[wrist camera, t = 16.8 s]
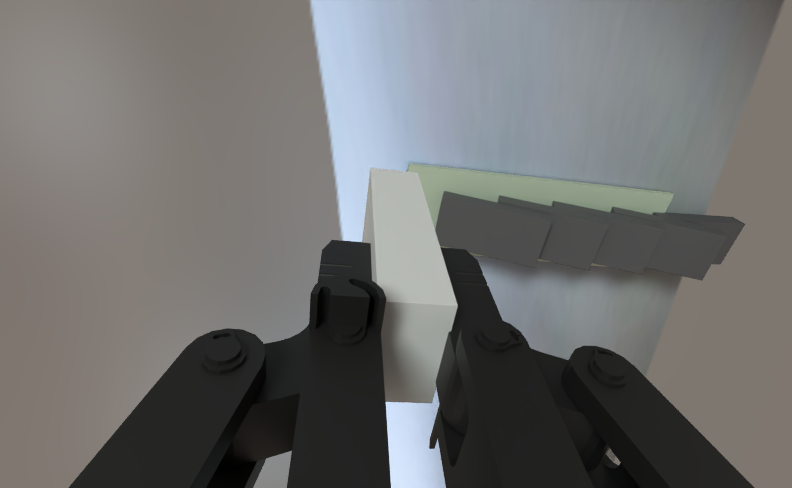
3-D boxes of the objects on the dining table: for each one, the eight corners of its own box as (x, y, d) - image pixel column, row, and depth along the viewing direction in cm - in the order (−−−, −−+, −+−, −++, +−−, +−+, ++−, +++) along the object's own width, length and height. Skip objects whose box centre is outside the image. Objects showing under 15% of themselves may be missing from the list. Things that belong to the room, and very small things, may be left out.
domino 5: (664, 219, 43) (745, 224, 45) (653, 212, 44) (732, 216, 46) (642, 261, 45) (720, 264, 48) (633, 253, 47) (709, 256, 49)
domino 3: (554, 206, 41) (664, 229, 40) (553, 200, 43) (658, 222, 42) (539, 251, 44) (641, 274, 43) (538, 244, 45) (637, 265, 44)
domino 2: (499, 201, 41) (608, 224, 40) (499, 195, 42) (605, 217, 41) (486, 247, 43) (589, 270, 42) (486, 239, 44) (586, 262, 43)
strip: (408, 162, 40) (409, 165, 40) (670, 192, 44) (674, 195, 44) (394, 245, 45) (395, 248, 44) (633, 266, 49) (636, 269, 48)
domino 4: (615, 212, 42) (727, 236, 41) (612, 206, 44) (720, 229, 42) (597, 256, 45) (701, 280, 43) (595, 249, 46) (696, 272, 44)
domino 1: (442, 197, 40) (551, 221, 39) (444, 190, 41) (550, 214, 40) (432, 243, 42) (535, 267, 41) (434, 236, 44) (533, 259, 43)
